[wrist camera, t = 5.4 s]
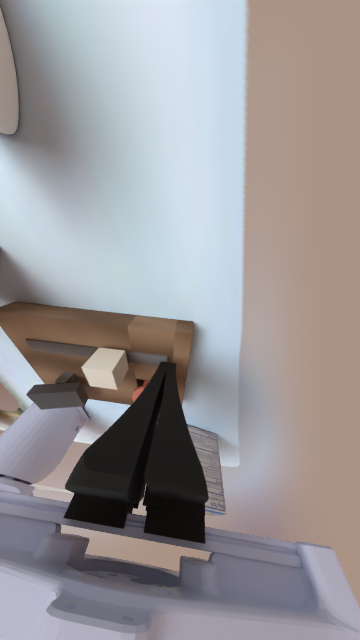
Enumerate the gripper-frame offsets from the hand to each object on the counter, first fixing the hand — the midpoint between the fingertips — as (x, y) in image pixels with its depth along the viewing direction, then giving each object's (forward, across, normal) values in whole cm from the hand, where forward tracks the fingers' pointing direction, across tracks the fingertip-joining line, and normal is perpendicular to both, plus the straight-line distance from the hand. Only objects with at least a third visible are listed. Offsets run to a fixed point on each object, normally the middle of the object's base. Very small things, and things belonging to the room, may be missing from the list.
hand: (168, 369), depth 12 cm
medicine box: (+3, -5, +21) cm, 22 cm away
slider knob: (+1, +5, 0) cm, 5 cm away
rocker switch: (0, +12, +6) cm, 13 cm away
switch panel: (+3, +7, +3) cm, 8 cm away
